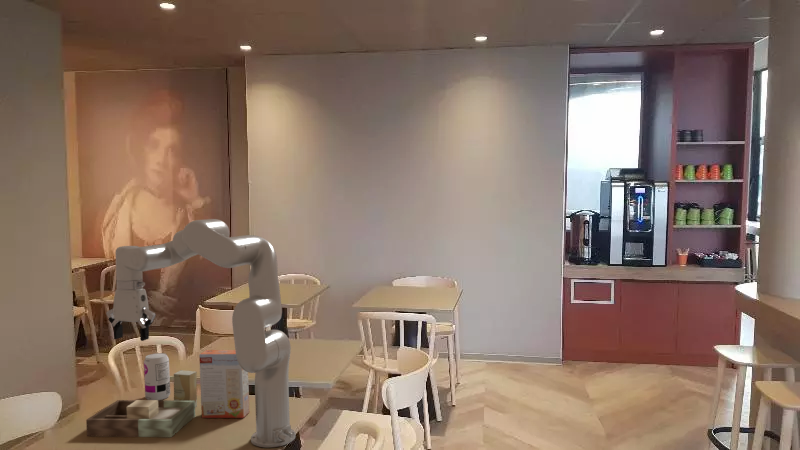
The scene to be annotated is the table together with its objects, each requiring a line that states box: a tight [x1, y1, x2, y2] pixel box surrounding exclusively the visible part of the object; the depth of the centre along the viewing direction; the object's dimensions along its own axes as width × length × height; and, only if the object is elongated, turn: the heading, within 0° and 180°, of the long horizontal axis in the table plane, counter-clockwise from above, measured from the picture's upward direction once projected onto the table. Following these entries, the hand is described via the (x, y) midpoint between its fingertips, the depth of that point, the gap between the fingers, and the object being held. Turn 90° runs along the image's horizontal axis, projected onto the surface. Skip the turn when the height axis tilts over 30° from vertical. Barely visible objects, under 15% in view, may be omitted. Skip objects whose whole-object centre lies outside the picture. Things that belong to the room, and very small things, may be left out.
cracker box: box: [199, 349, 250, 419], centre depth 192 cm, size 14×6×21 cm, turn 84°
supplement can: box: [143, 352, 171, 400], centre depth 211 cm, size 8×8×15 cm
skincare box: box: [173, 369, 198, 408], centre depth 200 cm, size 6×4×12 cm
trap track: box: [85, 399, 197, 438], centre depth 185 cm, size 26×17×5 cm, turn 85°
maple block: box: [127, 399, 159, 419], centre depth 185 cm, size 7×6×4 cm
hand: (131, 339), depth 189 cm, fingers open, 9 cm apart
